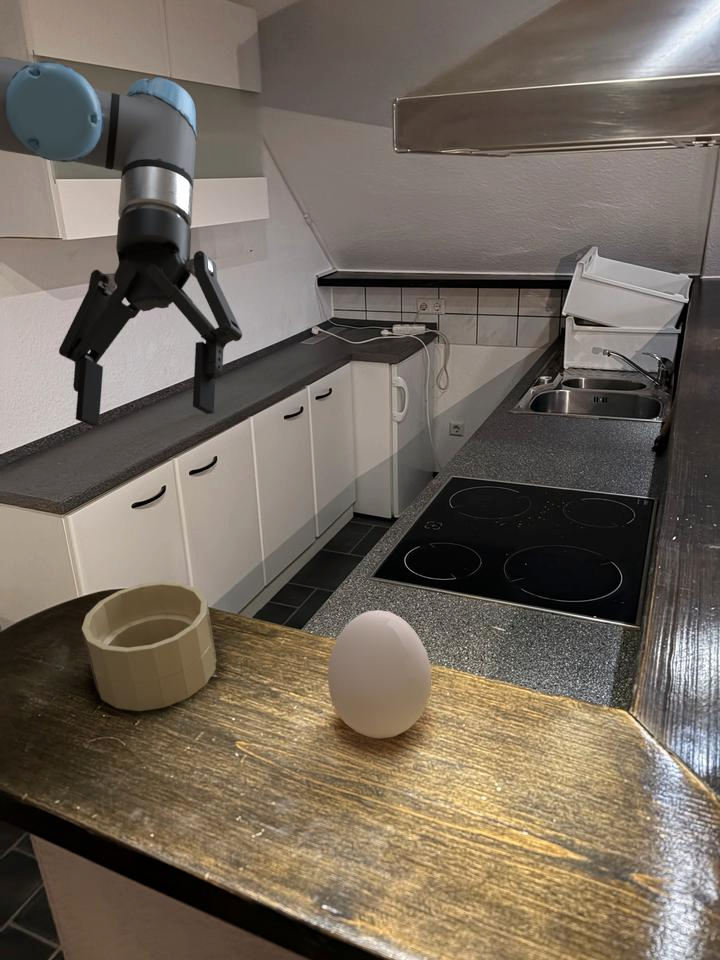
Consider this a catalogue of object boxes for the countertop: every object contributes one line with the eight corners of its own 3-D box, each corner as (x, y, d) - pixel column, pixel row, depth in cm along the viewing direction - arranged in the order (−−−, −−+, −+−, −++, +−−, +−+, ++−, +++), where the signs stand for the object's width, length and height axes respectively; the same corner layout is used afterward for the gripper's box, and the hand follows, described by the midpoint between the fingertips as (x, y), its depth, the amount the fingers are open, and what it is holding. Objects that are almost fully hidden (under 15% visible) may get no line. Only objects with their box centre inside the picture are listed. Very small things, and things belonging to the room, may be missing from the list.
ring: (89, 727, 68) (71, 658, 65) (108, 651, 78) (93, 589, 75) (216, 709, 69) (204, 641, 66) (218, 637, 79) (208, 575, 76)
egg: (395, 681, 71) (390, 576, 67) (453, 735, 65) (452, 622, 60) (314, 718, 67) (303, 609, 63) (366, 780, 61) (358, 663, 56)
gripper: (277, 221, 80) (272, 414, 76) (81, 259, 88) (66, 436, 84) (244, 182, 73) (237, 392, 69) (34, 226, 81) (16, 417, 77)
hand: (143, 416), depth 76 cm, fingers open, 13 cm apart
